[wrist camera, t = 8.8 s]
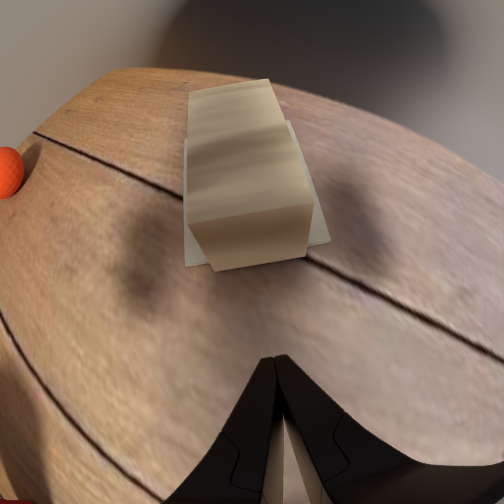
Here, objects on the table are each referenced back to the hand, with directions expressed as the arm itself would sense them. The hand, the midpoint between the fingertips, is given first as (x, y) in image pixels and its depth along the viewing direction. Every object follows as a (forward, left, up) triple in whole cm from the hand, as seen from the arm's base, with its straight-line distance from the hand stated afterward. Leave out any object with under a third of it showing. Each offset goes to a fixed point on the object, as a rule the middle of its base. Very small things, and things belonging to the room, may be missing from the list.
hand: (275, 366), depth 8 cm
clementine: (-13, +36, -8) cm, 39 cm away
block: (+4, +6, -5) cm, 8 cm away
